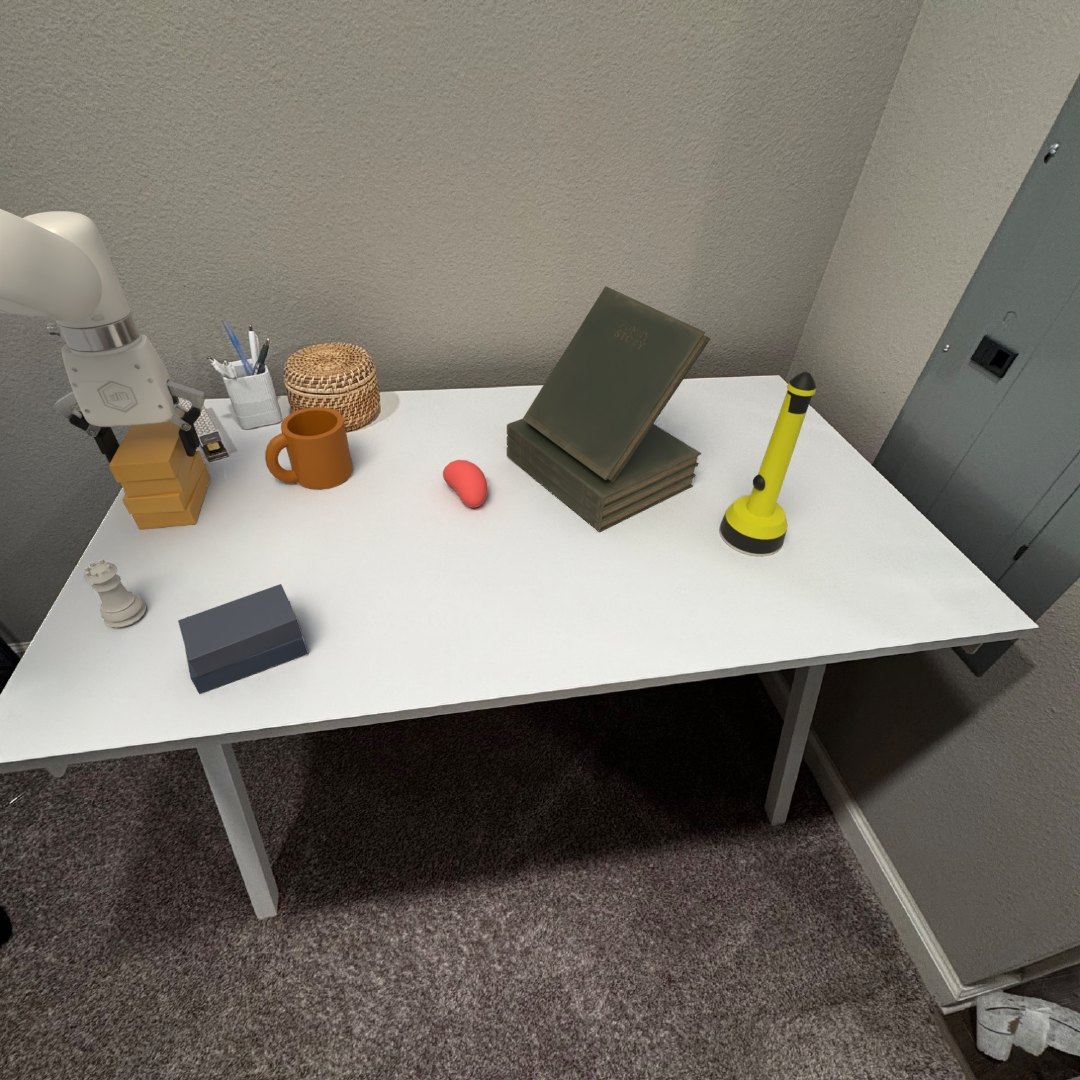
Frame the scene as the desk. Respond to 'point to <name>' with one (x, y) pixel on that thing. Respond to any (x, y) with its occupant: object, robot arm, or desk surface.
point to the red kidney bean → (466, 482)
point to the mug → (312, 449)
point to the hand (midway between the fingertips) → (154, 454)
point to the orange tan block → (148, 453)
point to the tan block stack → (169, 496)
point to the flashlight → (769, 481)
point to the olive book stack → (611, 414)
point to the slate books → (241, 638)
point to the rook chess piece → (114, 595)
